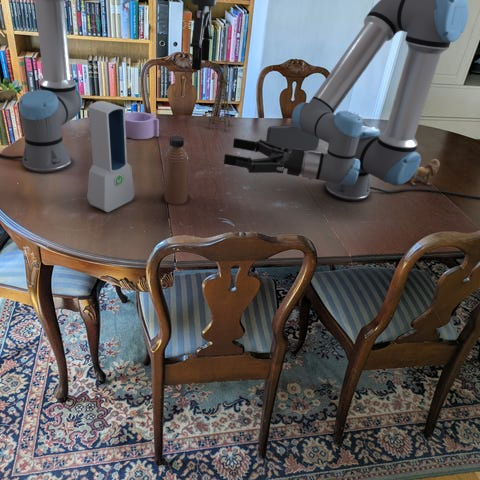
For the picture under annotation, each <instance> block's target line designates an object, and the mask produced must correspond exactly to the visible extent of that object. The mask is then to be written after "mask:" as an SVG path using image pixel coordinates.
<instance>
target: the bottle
mask: <svg viewBox="0 0 480 480" xmlns="http://www.w3.org/2000/svg"><path fill="white" fill-rule="evenodd" d="M189 159H190V158H189V155H188V153H187V151H186V150H185V148H184V146H182V147H172V146H170V147H169V148H168V150H167V151H166V152H165V154H164V158H163V199H164V201H165V202H166V203H167V204H170V205H183V204H185V203H186V202H187V201H188V185H189Z"/></svg>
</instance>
